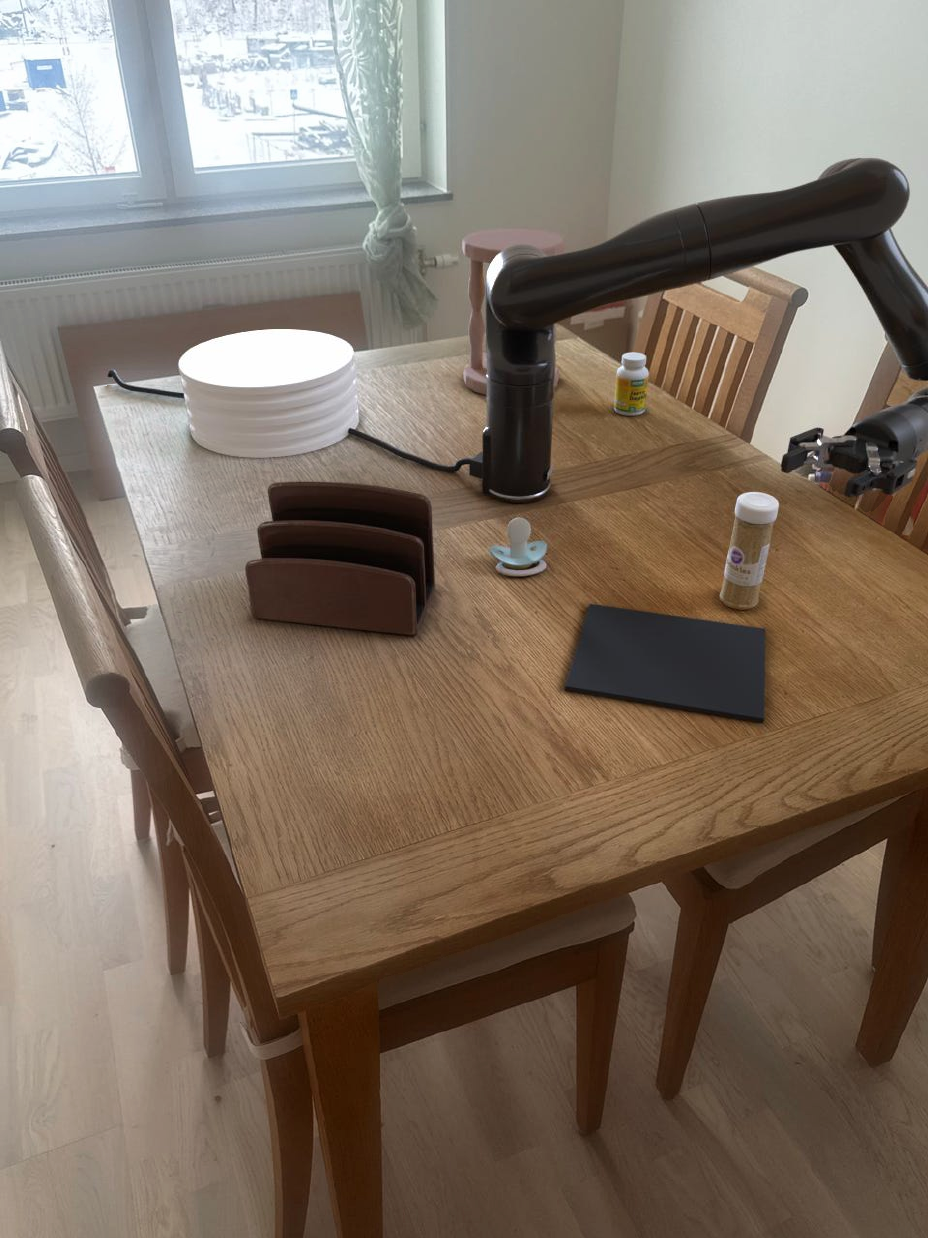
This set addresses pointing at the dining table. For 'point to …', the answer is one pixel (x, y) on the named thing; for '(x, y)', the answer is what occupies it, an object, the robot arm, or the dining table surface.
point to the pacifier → (519, 551)
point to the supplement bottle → (631, 385)
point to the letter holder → (344, 557)
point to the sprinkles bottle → (748, 549)
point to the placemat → (671, 662)
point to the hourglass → (484, 250)
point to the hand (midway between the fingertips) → (815, 476)
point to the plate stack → (270, 392)
